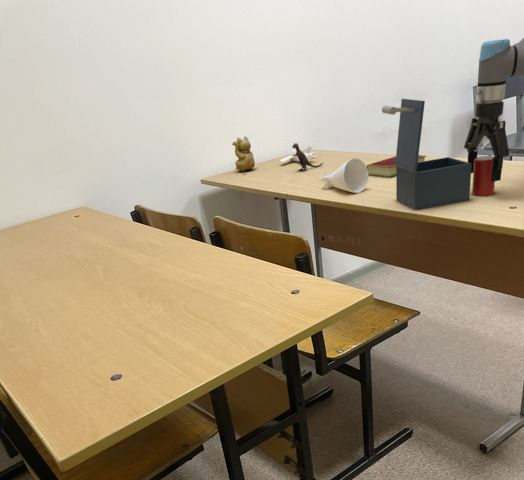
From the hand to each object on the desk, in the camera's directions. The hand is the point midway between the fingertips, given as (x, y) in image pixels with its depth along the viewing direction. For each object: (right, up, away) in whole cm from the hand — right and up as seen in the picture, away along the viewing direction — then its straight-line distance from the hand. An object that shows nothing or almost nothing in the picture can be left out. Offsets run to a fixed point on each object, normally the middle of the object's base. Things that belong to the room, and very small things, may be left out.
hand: (483, 176), depth 163 cm
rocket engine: (-38, +5, +30) cm, 49 cm away
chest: (-15, -6, +3) cm, 17 cm away
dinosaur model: (-48, +26, +70) cm, 89 cm away
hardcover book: (-15, +17, +46) cm, 51 cm away
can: (+1, -4, +2) cm, 5 cm away
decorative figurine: (-75, +31, +85) cm, 118 cm away
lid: (-25, +10, -8) cm, 28 cm away
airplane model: (-50, +35, +87) cm, 106 cm away
